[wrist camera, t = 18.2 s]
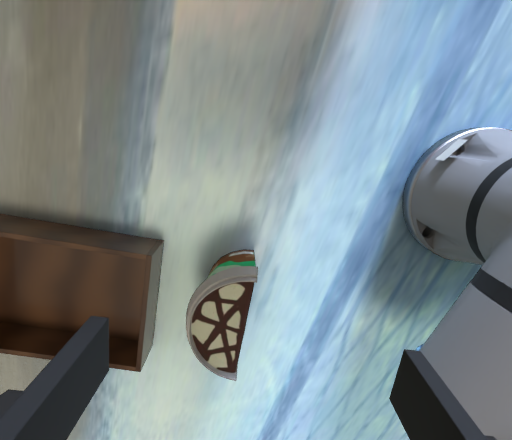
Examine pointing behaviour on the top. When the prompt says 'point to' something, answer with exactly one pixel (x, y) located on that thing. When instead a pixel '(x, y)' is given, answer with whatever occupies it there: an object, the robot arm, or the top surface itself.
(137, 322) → the wooden tray
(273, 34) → the top surface
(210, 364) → the food container
